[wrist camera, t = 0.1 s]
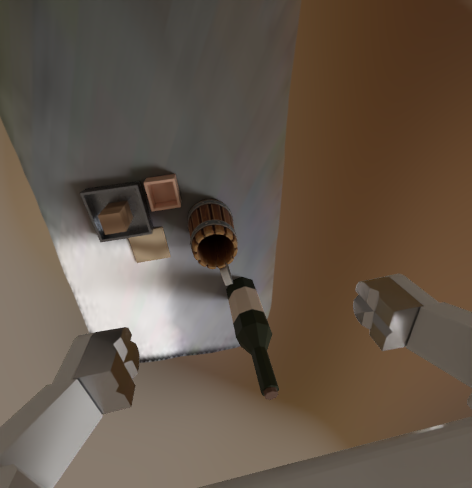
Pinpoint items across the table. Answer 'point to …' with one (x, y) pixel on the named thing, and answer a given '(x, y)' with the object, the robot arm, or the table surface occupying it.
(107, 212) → the walnut block
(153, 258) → the light wooden board
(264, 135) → the table surface
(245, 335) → the wine bottle
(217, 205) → the mug
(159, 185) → the terracotta pot
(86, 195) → the tin
